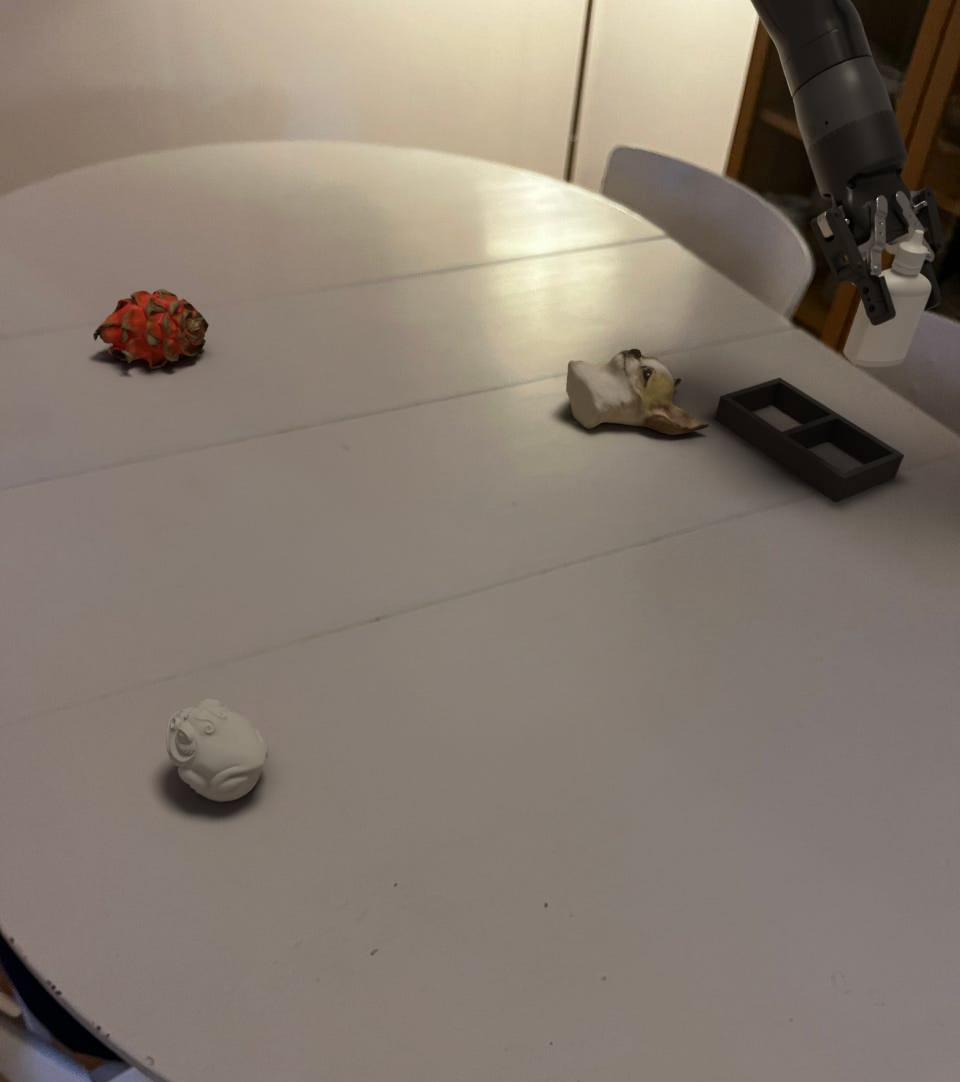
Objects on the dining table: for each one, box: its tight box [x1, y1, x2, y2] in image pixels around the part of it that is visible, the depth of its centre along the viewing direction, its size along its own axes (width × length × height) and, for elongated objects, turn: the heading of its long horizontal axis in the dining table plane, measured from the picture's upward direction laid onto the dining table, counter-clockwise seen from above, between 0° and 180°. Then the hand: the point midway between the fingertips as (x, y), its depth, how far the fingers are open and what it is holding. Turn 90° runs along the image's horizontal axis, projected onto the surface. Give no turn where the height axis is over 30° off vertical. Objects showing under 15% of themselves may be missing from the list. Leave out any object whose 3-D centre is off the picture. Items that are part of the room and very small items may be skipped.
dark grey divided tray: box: [714, 377, 905, 503], centre depth 110 cm, size 9×17×4 cm, turn 34°
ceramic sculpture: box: [565, 348, 710, 436], centre depth 111 cm, size 11×9×15 cm
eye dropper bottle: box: [843, 230, 931, 368], centre depth 94 cm, size 4×6×12 cm
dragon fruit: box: [92, 288, 210, 370], centre depth 113 cm, size 8×8×12 cm
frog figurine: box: [165, 698, 269, 803], centre depth 71 cm, size 6×7×7 cm
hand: (907, 314), depth 94 cm, fingers closed on eye dropper bottle, 5 cm apart
